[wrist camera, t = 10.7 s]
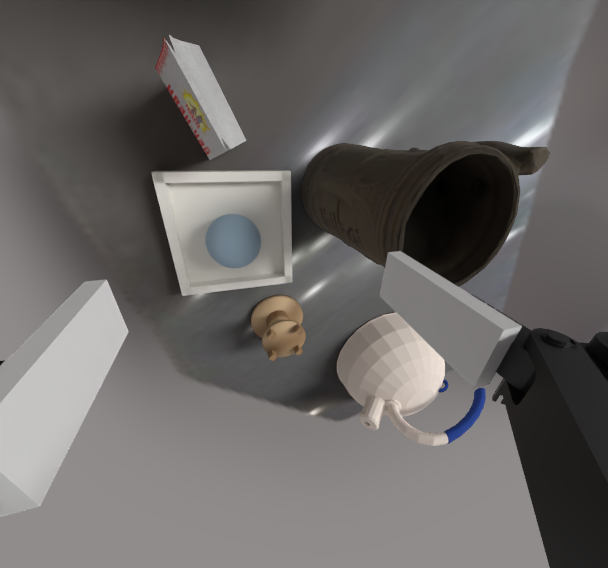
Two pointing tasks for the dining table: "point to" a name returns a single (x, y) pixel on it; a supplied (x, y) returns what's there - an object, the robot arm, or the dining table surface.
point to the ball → (233, 241)
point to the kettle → (397, 377)
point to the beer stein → (421, 201)
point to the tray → (217, 202)
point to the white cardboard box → (199, 97)
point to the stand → (279, 326)
